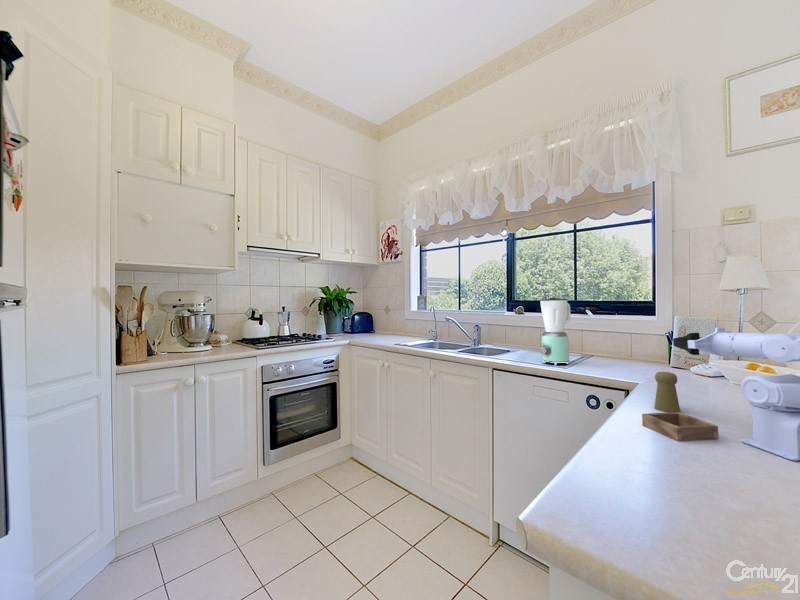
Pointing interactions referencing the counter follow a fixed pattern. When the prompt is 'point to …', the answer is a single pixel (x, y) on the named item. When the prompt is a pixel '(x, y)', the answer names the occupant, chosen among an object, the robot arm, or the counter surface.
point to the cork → (666, 392)
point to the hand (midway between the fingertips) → (687, 341)
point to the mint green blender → (555, 330)
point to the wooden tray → (680, 426)
